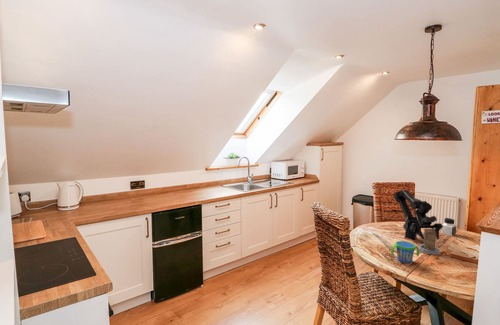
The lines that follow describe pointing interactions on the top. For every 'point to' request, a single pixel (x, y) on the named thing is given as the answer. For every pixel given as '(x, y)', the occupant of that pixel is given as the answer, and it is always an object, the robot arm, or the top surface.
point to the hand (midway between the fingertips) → (430, 239)
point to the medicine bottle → (449, 227)
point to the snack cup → (405, 251)
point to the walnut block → (429, 239)
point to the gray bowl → (436, 252)
